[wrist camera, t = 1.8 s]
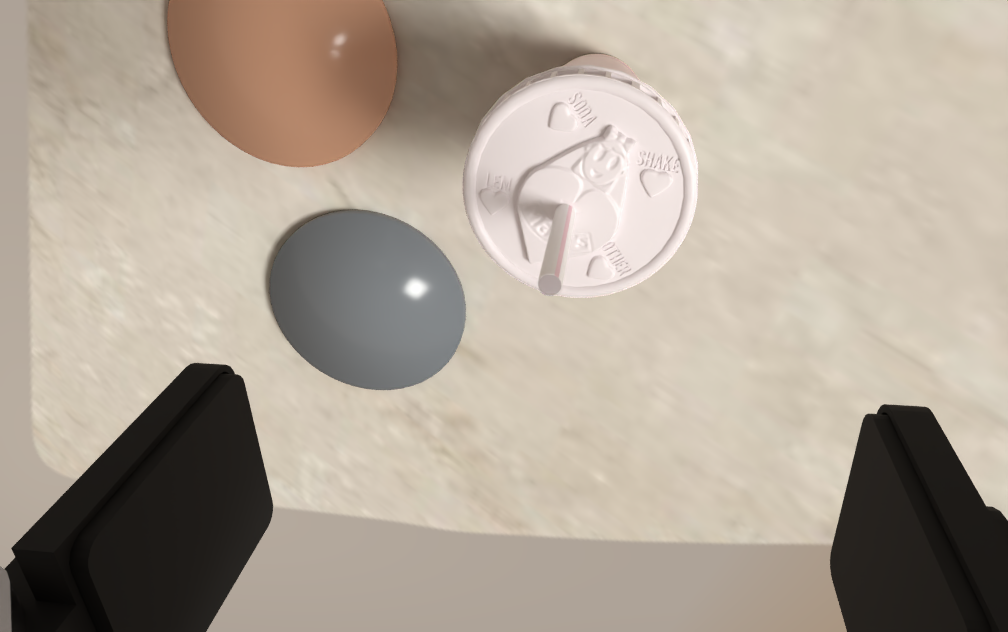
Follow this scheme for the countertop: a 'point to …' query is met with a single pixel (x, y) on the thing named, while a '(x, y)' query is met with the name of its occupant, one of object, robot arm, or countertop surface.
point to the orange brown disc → (287, 73)
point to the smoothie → (581, 179)
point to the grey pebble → (368, 300)
